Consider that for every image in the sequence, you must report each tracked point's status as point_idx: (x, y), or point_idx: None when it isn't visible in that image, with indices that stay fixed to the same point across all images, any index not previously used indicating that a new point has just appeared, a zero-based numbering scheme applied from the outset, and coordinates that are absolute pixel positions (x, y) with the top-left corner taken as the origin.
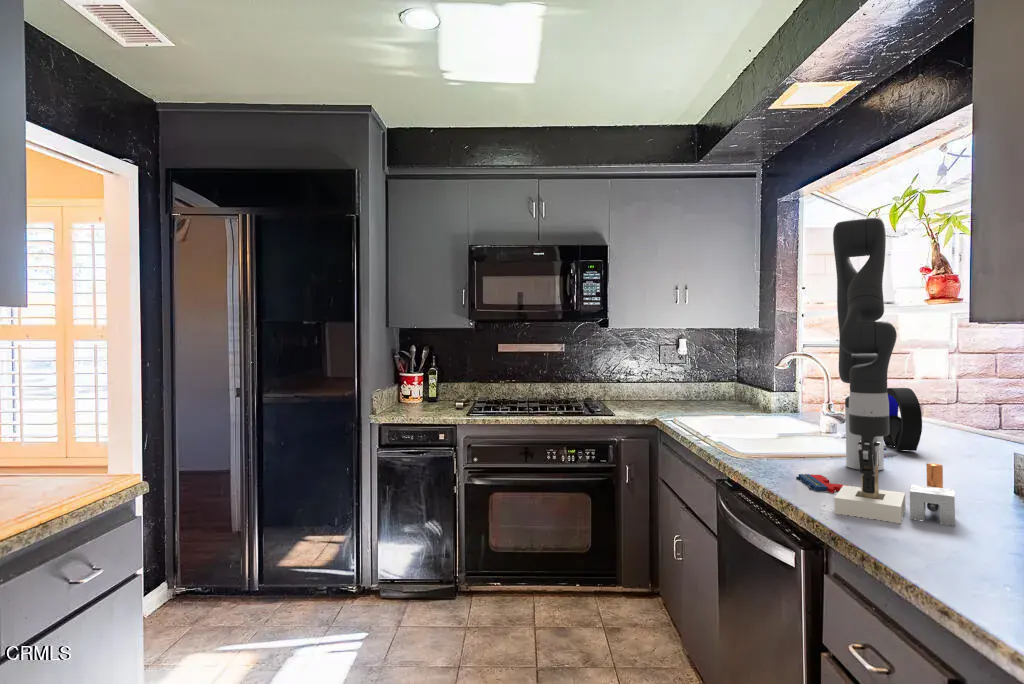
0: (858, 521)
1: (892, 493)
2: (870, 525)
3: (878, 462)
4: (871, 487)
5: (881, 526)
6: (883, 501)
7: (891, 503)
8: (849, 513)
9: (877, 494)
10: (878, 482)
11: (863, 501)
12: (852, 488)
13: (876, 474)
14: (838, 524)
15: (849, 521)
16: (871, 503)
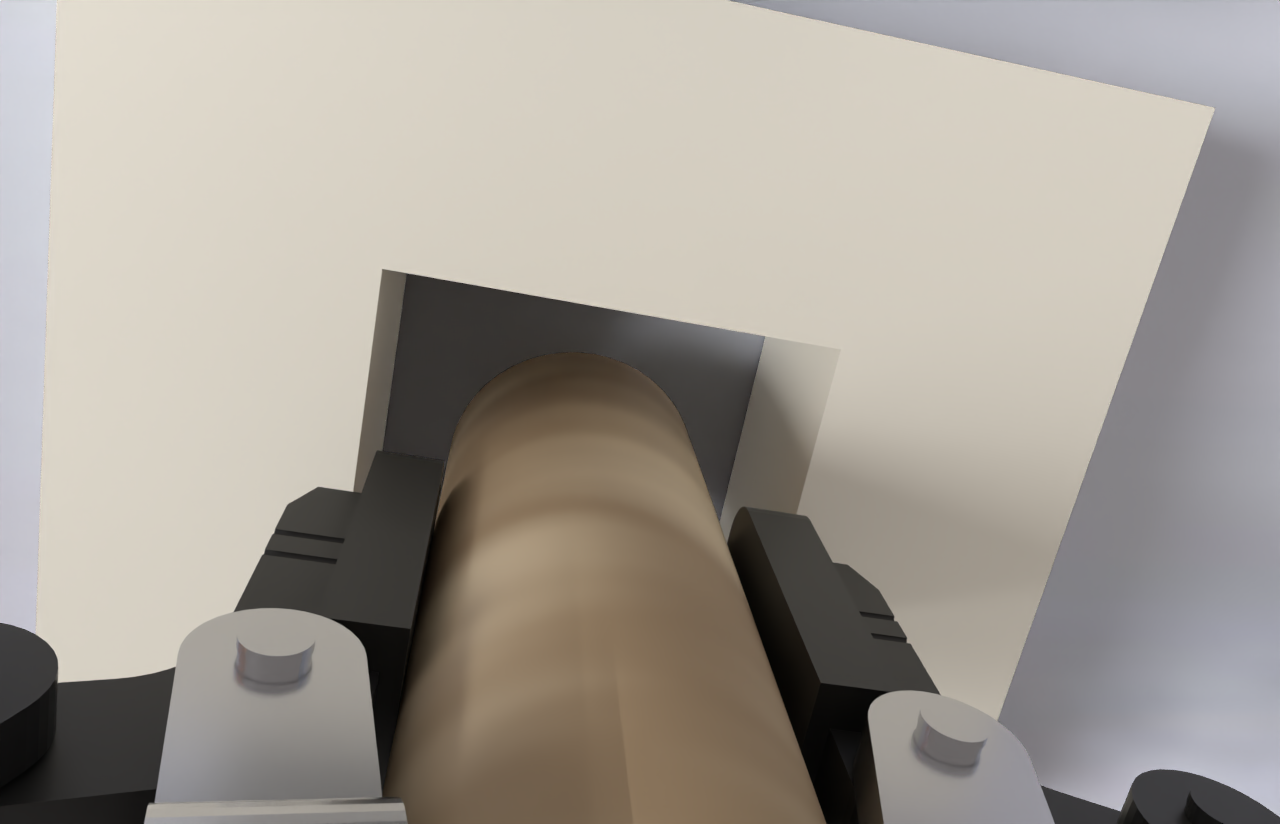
0: (1092, 572)
1: (244, 129)
2: (1223, 456)
3: (393, 801)
4: (892, 617)
5: (1237, 340)
6: (929, 348)
7: (1028, 234)
8: None
9: (666, 434)
10: (625, 506)
11: (1022, 628)
12: None
13: (743, 660)
14: (1257, 757)
15: (1118, 659)
16: (1062, 522)
